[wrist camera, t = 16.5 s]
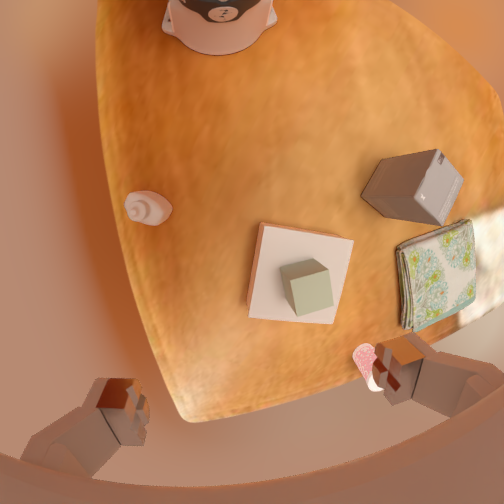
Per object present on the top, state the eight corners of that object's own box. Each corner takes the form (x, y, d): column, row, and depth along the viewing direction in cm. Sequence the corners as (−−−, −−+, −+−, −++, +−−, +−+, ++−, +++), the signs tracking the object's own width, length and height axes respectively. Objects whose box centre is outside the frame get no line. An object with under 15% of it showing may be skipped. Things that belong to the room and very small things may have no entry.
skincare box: (384, 217, 46) (444, 234, 31) (355, 193, 45) (413, 200, 30) (406, 179, 45) (469, 183, 30) (379, 153, 44) (440, 146, 28)
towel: (389, 244, 48) (405, 250, 43) (464, 217, 49) (480, 220, 44) (396, 328, 53) (409, 339, 48) (465, 293, 54) (479, 300, 49)
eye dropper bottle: (152, 227, 43) (130, 243, 31) (134, 196, 41) (106, 201, 30) (176, 213, 43) (161, 224, 31) (158, 181, 41) (136, 180, 30)
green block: (279, 267, 40) (290, 280, 34) (313, 258, 41) (328, 269, 35) (286, 299, 41) (297, 316, 36) (318, 290, 42) (334, 305, 36)
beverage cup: (354, 339, 51) (388, 381, 38) (379, 339, 52) (416, 378, 39) (345, 365, 53) (374, 410, 39) (370, 365, 54) (402, 405, 40)
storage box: (258, 220, 45) (264, 225, 39) (338, 233, 47) (353, 240, 41) (244, 301, 47) (248, 317, 42) (320, 308, 49) (332, 324, 44)
